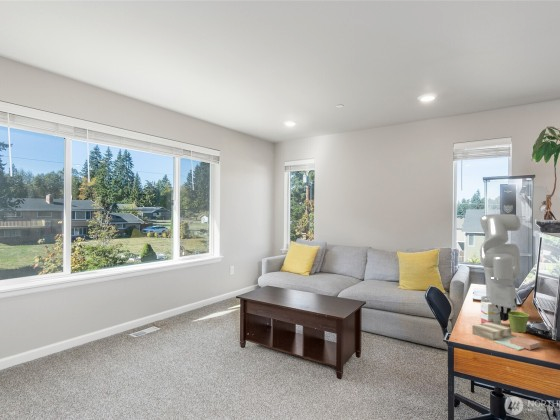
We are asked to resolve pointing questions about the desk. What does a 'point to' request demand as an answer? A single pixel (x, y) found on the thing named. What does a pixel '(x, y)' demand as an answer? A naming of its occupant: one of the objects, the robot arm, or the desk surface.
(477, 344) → the desk surface
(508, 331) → the block
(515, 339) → the coaster
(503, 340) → the mat
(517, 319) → the plant pot
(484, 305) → the ink cartridge box
